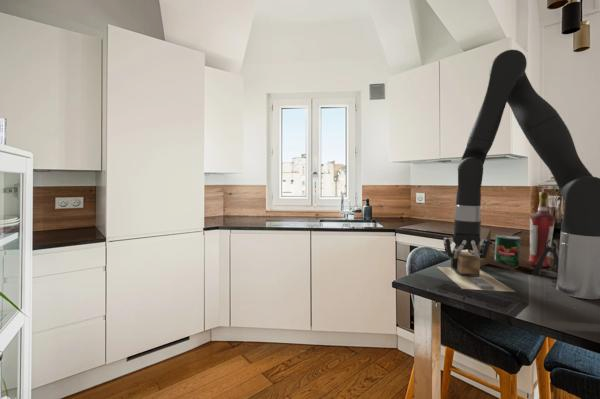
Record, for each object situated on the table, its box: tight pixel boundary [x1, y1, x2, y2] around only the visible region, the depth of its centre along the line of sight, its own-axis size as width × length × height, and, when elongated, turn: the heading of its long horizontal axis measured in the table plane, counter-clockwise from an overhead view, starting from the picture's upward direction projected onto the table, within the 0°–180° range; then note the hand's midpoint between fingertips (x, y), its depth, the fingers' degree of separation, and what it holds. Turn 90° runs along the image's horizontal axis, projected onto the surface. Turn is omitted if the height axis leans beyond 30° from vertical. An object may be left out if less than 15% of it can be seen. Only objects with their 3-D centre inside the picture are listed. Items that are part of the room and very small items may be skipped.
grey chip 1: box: [471, 278, 488, 284], centre depth 90 cm, size 4×3×1 cm
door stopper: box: [531, 239, 559, 280], centre depth 103 cm, size 9×6×12 cm, turn 47°
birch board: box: [437, 266, 516, 293], centre depth 95 cm, size 14×22×1 cm, turn 173°
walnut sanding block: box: [450, 250, 481, 277], centre depth 101 cm, size 6×9×6 cm, turn 173°
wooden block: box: [467, 220, 492, 267], centre depth 111 cm, size 4×11×18 cm, turn 126°
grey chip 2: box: [476, 282, 494, 289], centre depth 87 cm, size 4×3×1 cm
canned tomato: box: [494, 234, 521, 269], centre depth 115 cm, size 8×8×11 cm
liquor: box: [527, 191, 556, 269], centre depth 114 cm, size 7×7×28 cm
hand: (464, 269), depth 101 cm, fingers closed on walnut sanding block, 5 cm apart
